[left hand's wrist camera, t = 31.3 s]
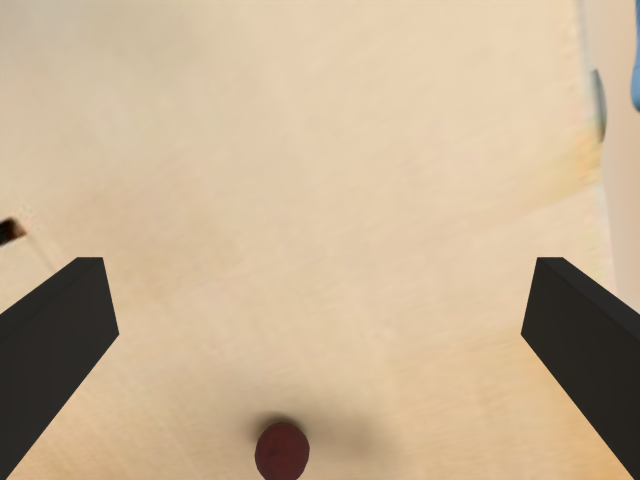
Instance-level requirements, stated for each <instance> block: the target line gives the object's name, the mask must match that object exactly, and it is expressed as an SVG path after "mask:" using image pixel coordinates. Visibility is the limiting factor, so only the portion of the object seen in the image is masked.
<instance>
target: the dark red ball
mask: <svg viewBox="0 0 640 480" xmlns="http://www.w3.org/2000/svg"><path fill="white" fill-rule="evenodd" d="M309 449H310V447H309V443H308V440H307V438H306V436H305V435H304V434H303V433H302V432H301V431H300V430H299V429H298V428H296V427H294V426H292V425H290V424H288V423H278V424H274V425H272V426H270V427H268V428H267V429H266V430H265V431H264V433H263V434H262V435H261V437H260V438H259V440H258V443H257V446H256V451H255V462H256V465H257V469H258V471H259V472H260V474H261V475H262V476H263V477H264V479H265V480H297V479H298V478H299V477H300V476H301V474H302V473H303V471H304V469H305V466H306V464H307V461H308V458H309Z"/></svg>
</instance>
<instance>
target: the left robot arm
mask: <svg viewBox="0 0 640 480" xmlns="http://www.w3.org/2000/svg"><path fill="white" fill-rule="evenodd" d="M118 335H119V331H118V326H117V321H116V317H115V312H114V307H113V303H112V298H111V294H110V289H109V284H108V280H107V275H106V270H105V266H104V261H103V257H77V258H76V259H74V260H73V261H72V262H70V263H69V264H68V265H66V266H65V267H64V268H62V269H61V270H60V271H58V272H57V273H55V274H54V275H53V276H51V277H50V278H49V279H47V280H46V281H45V282H43V283H42V284H41V285H39V286H38V287H37V288H35V289H34V290H33V291H31V292H30V293H28V294H27V295H26V296H24V297H23V298H22V299H20V300H19V301H18V302H16V303H15V304H14V305H12V306H11V307H10V308H8V309H7V310H6V311H4V312H3V313H2V314H0V480H6V479H7V477H8V476H9V475H10V474H11V472H12V471H13V470H14V468H15V467H16V466H17V465H18V463H19V462H20V461H21V459H22V458H23V457H24V456H25V454H26V453H27V452H28V451H29V449H30V448H31V447H32V445H33V444H34V443H35V442H36V440H37V439H38V438H39V436H40V435H41V434H42V433H43V431H44V430H45V429H46V427H47V426H48V425H49V424H50V422H51V421H52V420H53V419H54V417H55V416H56V415H57V413H58V412H59V411H60V410H61V408H62V407H63V406H64V404H65V403H66V402H67V401H68V399H69V398H70V397H71V396H72V394H73V393H74V392H75V390H76V389H77V388H78V387H79V385H80V384H81V383H82V381H83V380H84V379H85V378H86V376H87V375H88V374H89V372H90V371H91V370H92V369H93V367H94V366H95V365H96V364H97V362H98V361H99V360H100V358H101V357H102V356H103V355H104V353H105V352H106V351H107V349H108V348H109V347H110V346H111V344H112V343H113V342H114V340H115V339H116V338H117V337H118ZM521 335H522V337H523V338H524V339H525V340H526V342H527V343H528V344H529V346H530V347H531V348H532V349H533V351H534V352H535V353H536V355H537V356H538V357H539V358H540V360H541V361H542V362H543V364H544V365H545V366H546V367H547V369H548V370H549V371H550V372H551V374H552V375H553V376H554V378H555V379H556V380H557V381H558V383H559V384H560V385H561V387H562V388H563V389H564V390H565V392H566V393H567V394H568V396H569V397H570V398H571V399H572V401H573V402H574V403H575V404H576V406H577V407H578V408H579V410H580V411H581V412H582V413H583V415H584V416H585V417H586V419H587V420H588V421H589V422H590V424H591V425H592V426H593V427H594V429H595V430H596V431H597V433H598V434H599V435H600V436H601V438H602V439H603V440H604V442H605V443H606V444H607V445H608V447H609V448H610V449H611V451H612V452H613V453H614V454H615V456H616V457H617V458H618V459H619V461H620V462H621V463H622V465H623V466H624V467H625V468H626V470H627V471H628V472H629V474H630V475H631V476H632V477H633V479H634V480H640V314H638V313H637V312H636V311H634V310H633V309H632V308H630V307H629V306H628V305H626V304H625V303H624V302H622V301H621V300H620V299H618V298H617V297H616V296H614V295H613V294H611V293H610V292H609V291H607V290H606V289H605V288H603V287H602V286H601V285H599V284H598V283H597V282H595V281H594V280H593V279H591V278H590V277H589V276H587V275H586V274H585V273H583V272H582V271H580V270H579V269H578V268H576V267H575V266H574V265H572V264H571V263H570V262H568V261H567V260H566V259H564V258H563V257H537V261H536V266H535V270H534V275H533V280H532V284H531V289H530V294H529V298H528V303H527V307H526V312H525V317H524V321H523V326H522V331H521Z"/></svg>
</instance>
